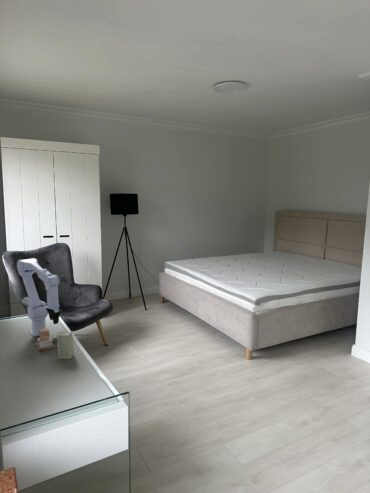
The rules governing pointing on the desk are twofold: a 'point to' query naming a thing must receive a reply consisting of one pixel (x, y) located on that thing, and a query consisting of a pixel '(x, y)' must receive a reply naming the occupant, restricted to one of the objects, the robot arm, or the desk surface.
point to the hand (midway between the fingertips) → (54, 321)
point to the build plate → (46, 344)
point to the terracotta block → (44, 334)
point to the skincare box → (65, 345)
